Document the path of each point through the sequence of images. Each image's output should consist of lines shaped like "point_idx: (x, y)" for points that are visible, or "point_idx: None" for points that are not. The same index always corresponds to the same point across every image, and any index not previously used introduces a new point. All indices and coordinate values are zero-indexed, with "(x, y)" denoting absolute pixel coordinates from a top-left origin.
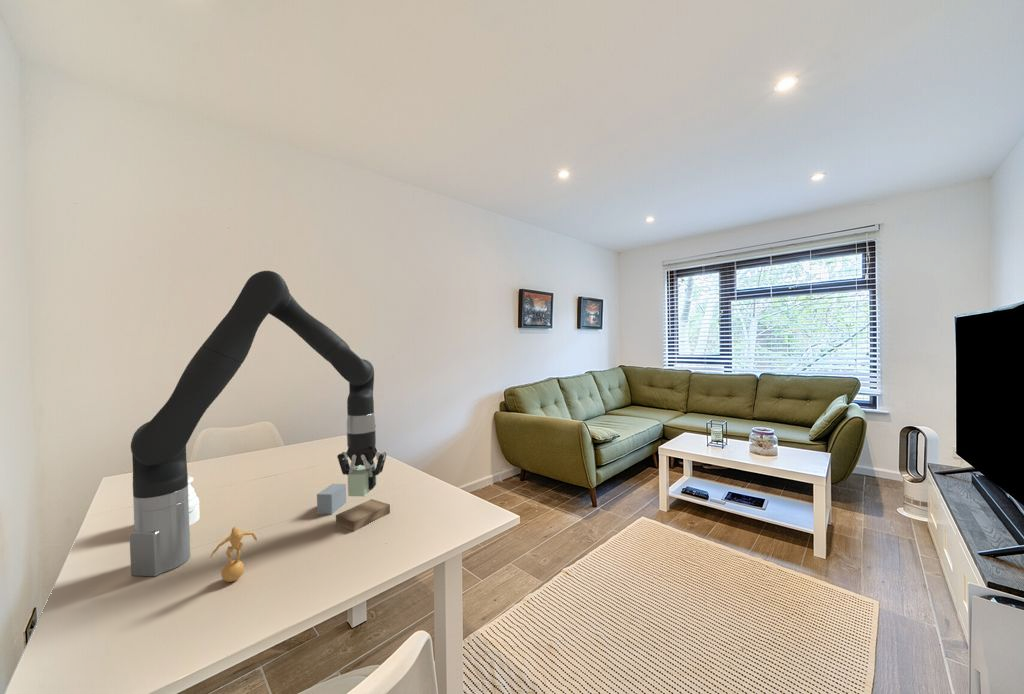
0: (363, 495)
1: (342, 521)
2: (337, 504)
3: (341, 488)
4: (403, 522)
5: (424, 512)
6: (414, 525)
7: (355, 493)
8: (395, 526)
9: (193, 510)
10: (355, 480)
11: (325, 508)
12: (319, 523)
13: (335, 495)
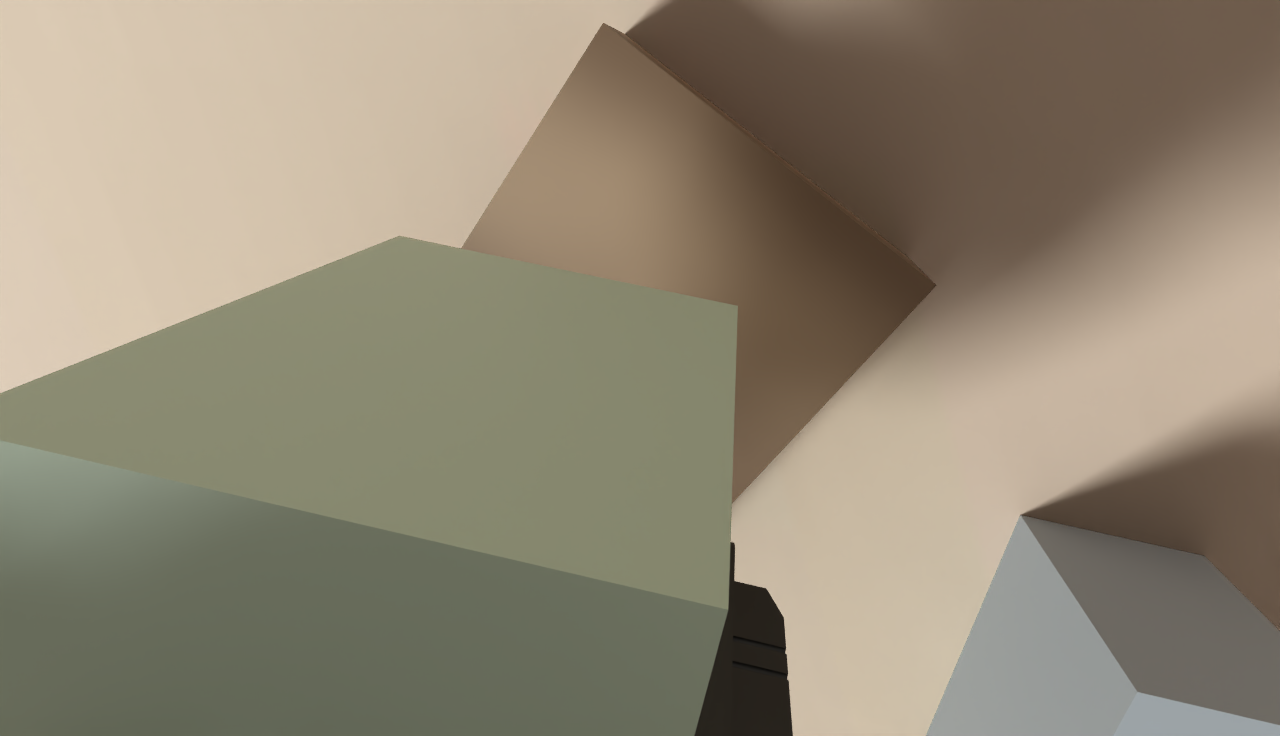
0: (397, 239)
1: (813, 185)
2: (998, 654)
3: None
4: (147, 185)
5: (31, 378)
6: (3, 94)
7: (562, 286)
8: (193, 98)
9: None
10: (433, 399)
11: (1133, 573)
12: (1127, 312)
13: (1064, 727)
